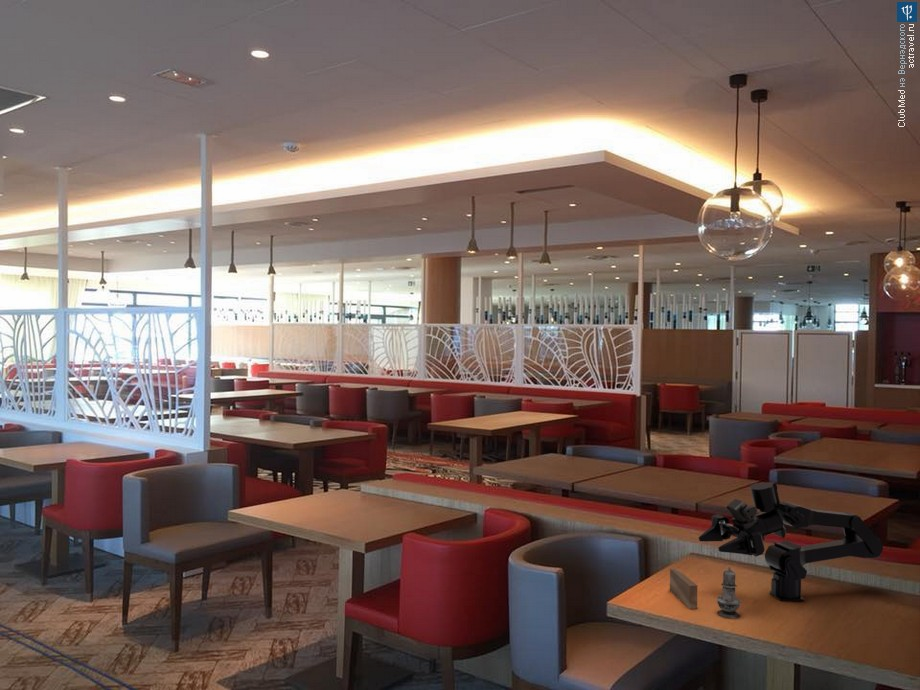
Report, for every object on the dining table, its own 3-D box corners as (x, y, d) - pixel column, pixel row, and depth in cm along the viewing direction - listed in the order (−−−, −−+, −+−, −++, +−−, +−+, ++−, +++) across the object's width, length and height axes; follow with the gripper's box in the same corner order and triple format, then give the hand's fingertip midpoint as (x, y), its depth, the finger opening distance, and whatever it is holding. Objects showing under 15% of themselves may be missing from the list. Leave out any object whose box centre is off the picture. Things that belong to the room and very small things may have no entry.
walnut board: (676, 590, 212) (677, 568, 212) (697, 608, 198) (697, 585, 198) (669, 590, 212) (670, 568, 212) (689, 609, 198) (689, 585, 198)
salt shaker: (742, 619, 191) (743, 571, 191) (717, 617, 192) (718, 569, 192) (738, 611, 197) (740, 564, 197) (714, 609, 198) (715, 562, 198)
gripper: (733, 488, 213) (683, 506, 210) (776, 505, 195) (722, 524, 192) (741, 527, 215) (692, 545, 211) (785, 546, 196) (732, 566, 193)
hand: (708, 544), depth 202 cm, fingers open, 9 cm apart
